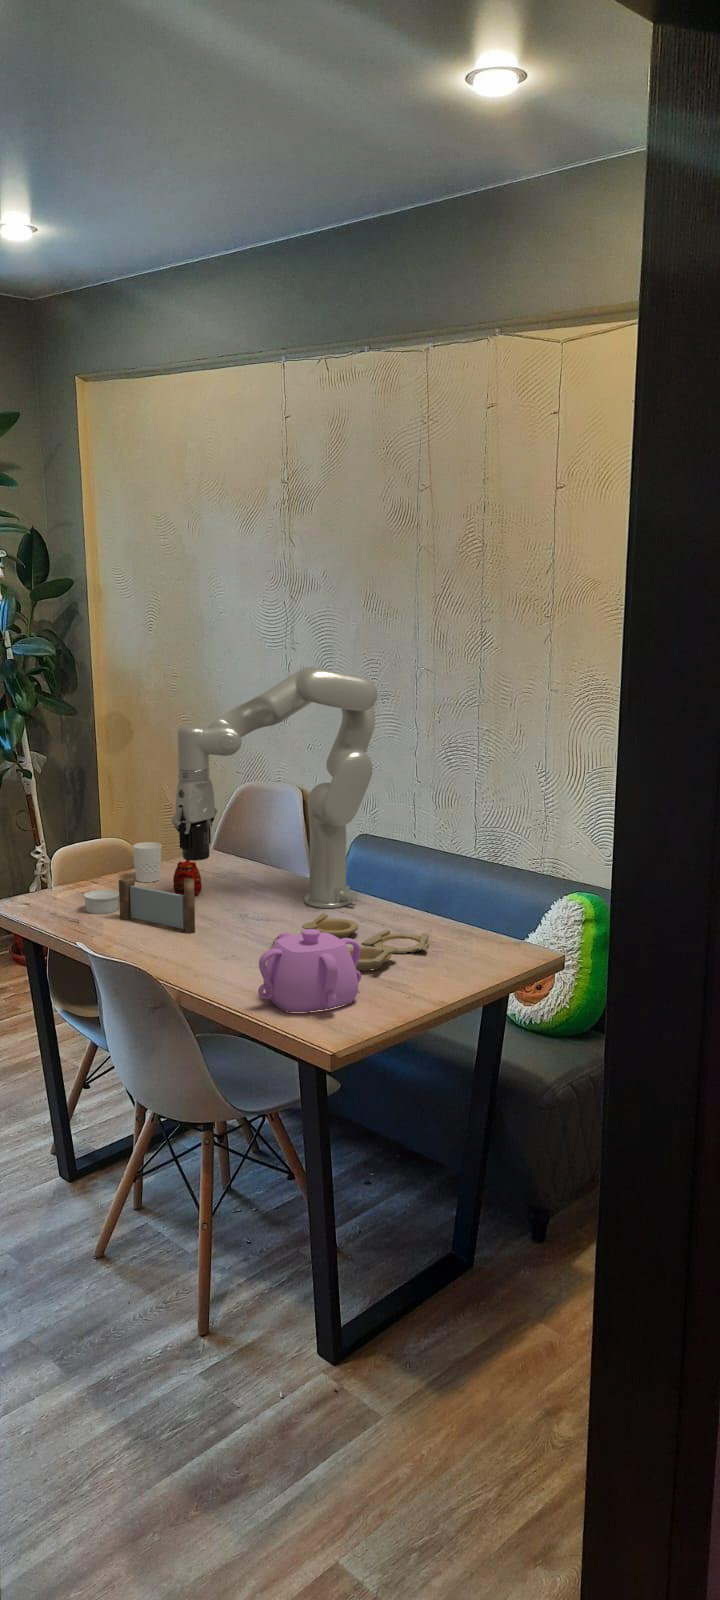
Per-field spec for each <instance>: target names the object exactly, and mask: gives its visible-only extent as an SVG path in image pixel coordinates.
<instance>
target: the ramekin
mask: <svg viewBox="0 0 720 1600" xmlns="http://www.w3.org/2000/svg"><path fill="white" fill-rule="evenodd" d="M83 898H84V904H85V910H86V912H87V913H89V914H92V913H93V915H107V914H111V912H112V913H114V912H116V911H117V910H119V891H116V890H113V889H112V890H111V889H97V890H96V889H95V890H92V891H87V892H85V893H84V894H83ZM106 913H107V914H106Z"/></svg>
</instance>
